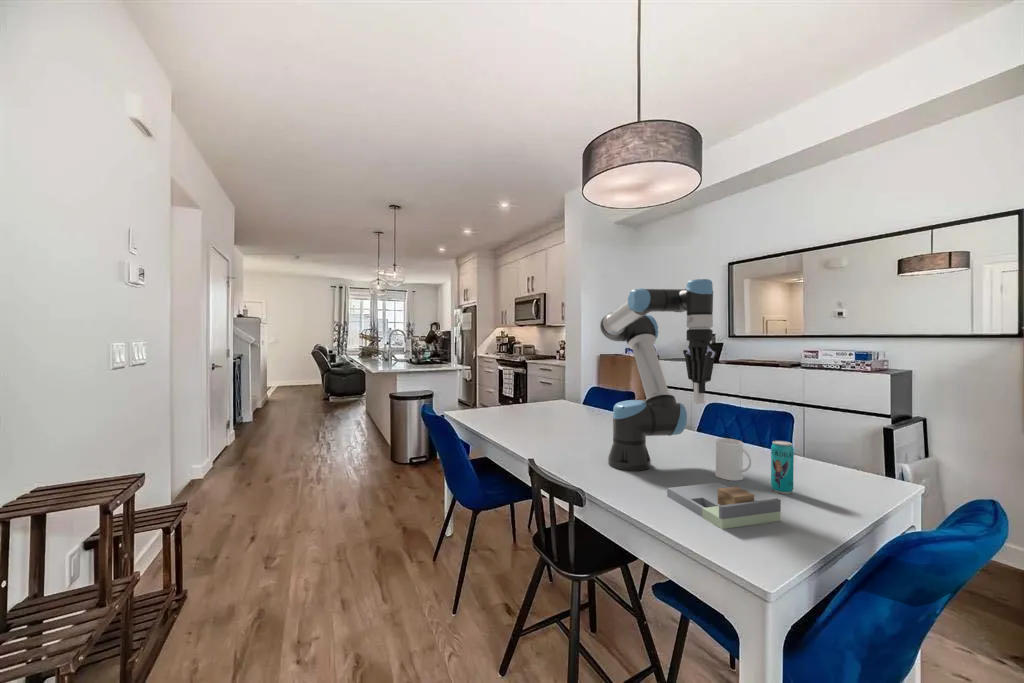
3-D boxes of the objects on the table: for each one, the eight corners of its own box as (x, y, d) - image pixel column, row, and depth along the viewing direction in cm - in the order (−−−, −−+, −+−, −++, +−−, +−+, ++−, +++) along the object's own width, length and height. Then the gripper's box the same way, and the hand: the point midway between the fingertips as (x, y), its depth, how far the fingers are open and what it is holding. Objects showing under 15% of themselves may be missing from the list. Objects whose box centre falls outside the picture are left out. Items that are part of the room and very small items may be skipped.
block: (717, 503, 113) (717, 488, 113) (736, 501, 114) (736, 486, 114) (734, 512, 107) (734, 497, 107) (754, 510, 109) (754, 494, 108)
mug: (758, 481, 136) (758, 445, 136) (739, 485, 133) (739, 448, 133) (727, 471, 147) (727, 437, 147) (709, 474, 144) (709, 439, 144)
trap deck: (667, 495, 124) (667, 477, 124) (718, 490, 129) (718, 472, 129) (721, 529, 103) (722, 507, 103) (780, 520, 108) (780, 499, 108)
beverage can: (768, 491, 128) (769, 442, 127) (773, 486, 132) (773, 439, 132) (791, 496, 124) (791, 446, 124) (794, 491, 128) (795, 442, 128)
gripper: (676, 328, 138) (675, 400, 138) (703, 328, 125) (703, 407, 125) (695, 328, 139) (695, 399, 140) (724, 328, 127) (724, 405, 127)
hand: (698, 403), depth 133 cm, fingers closed
